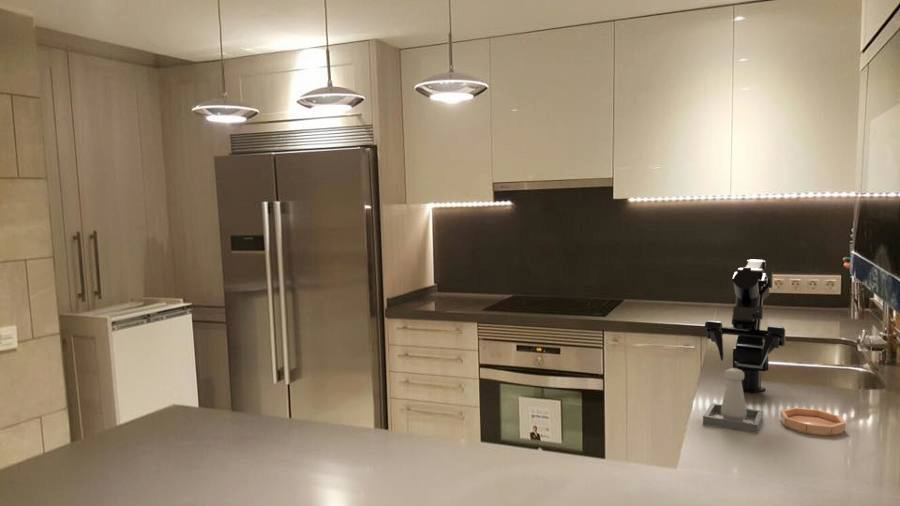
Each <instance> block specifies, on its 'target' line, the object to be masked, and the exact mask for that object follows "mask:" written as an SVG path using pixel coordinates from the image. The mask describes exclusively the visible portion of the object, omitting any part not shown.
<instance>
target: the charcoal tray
mask: <svg viewBox="0 0 900 506" xmlns="http://www.w3.org/2000/svg"><path fill="white" fill-rule="evenodd" d="M721 406H722V403H716V402H711V403H710V405H709V406H708V408H707V409H706V410H705V413H704V414H703V416H702V425H707V426H712V427H717V428H718V427H719V428H724V429H729V430H736V431H741V432H747V433H751V434H752V433H753V434H758V433H759V430H760V428H761V425H762V422H763V419H764V410H760V409H755V408H749V407H748V408H747V407H746V411H747V415H746V417H745V418H749V419H750V418H751V419H754V421H753V422H749V421H738V420H732V419H726V418H723V417H721V416H720V417H719V416H714V414H715V413H720V414H721Z"/></svg>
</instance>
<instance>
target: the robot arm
mask: <svg viewBox="0 0 900 506" xmlns="http://www.w3.org/2000/svg"><path fill="white" fill-rule="evenodd" d="M766 263H767V262H766V260H764V259H753V258H752V259H751V258H750V259H747V260H746V265H745V266H744V267H738V268H737V271H734V273H733V277H732V281H731V282H732V285H733V287H734V288H733V289H734V293H735V306H733V307H732V308H733V309H732V316H731V325H732V327H731V326H723V323H722V321H720V320H719V321H718V320H707V321H705V323H704V331H705V337H706V339H708V340H710V341H711V342H712V343H715V344H716V347H717V349H718V353H719V358H720V361H724V338H723V336H724V335H728V336H729V335H730V336H737V339H736V343H735V344H736V345H735V346H733V349H732V368H734V369H740V370H742V371H743V372H744V379H743V380H741V381H742V387H743V392H747V393H749V394H750V393H751V394H754V393H758V392H763V391H766V388H765V387H762V372H767V371H769V362H770V360H769V355H770V354H771V352H772V351H774V349H778V348H779V347H784V346H785V344H786V329H785V327H783V326H778V325H767V330H766V329H761V323H762V322H761V321H762V320H763V317H764V307H763V305H764V304H763V303H764V301H765V300H766V299H767V298H768V297H769V296H770V291H771V289H773V286H774V285H773V282H774V281H773V280H774V279H773V277H774V276H773V270H772V269H771V268H770V267H768V265H767V264H766ZM763 339H764V341H763Z"/></svg>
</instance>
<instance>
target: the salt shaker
mask: <svg viewBox="0 0 900 506" xmlns="http://www.w3.org/2000/svg"><path fill="white" fill-rule="evenodd" d="M724 377H725V379H726V380H727V383H726V386H725V390H724V396H723V398H722V403H721V404H722V406H721V413H720V414H721V415H722V418H726V419H732V420H738V421H744V420H745V418H747V417H746V415H747V411H746V408H747V405H746V400H745V394H744V391H743V387H742V381H741V380H743V379H744V372H743V371H742V370H740V369H738V368H733V367H731V368H727V369H726V370H725V371H724ZM744 422H745V421H744Z"/></svg>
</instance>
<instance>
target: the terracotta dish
mask: <svg viewBox="0 0 900 506" xmlns="http://www.w3.org/2000/svg"><path fill="white" fill-rule="evenodd" d="M779 416H780V418H781V420H780V421H781V424H782V425H783V426H784V427H786V428H788V429H791V430H793V431H796V432H799V433H802V434H803V433H804V434H808V435H814V436H826V437H827V436H830V437H831V436H838V435H841V434H843V433H844V430H846V425H847V423H846V421H844V419H842V417H841V416H840V415H837V414H834V413H830V412H827V411H824V410H821V409H815V408H802V407H791V408H788V409H787V408H786V409H782V410H780V415H779Z"/></svg>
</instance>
